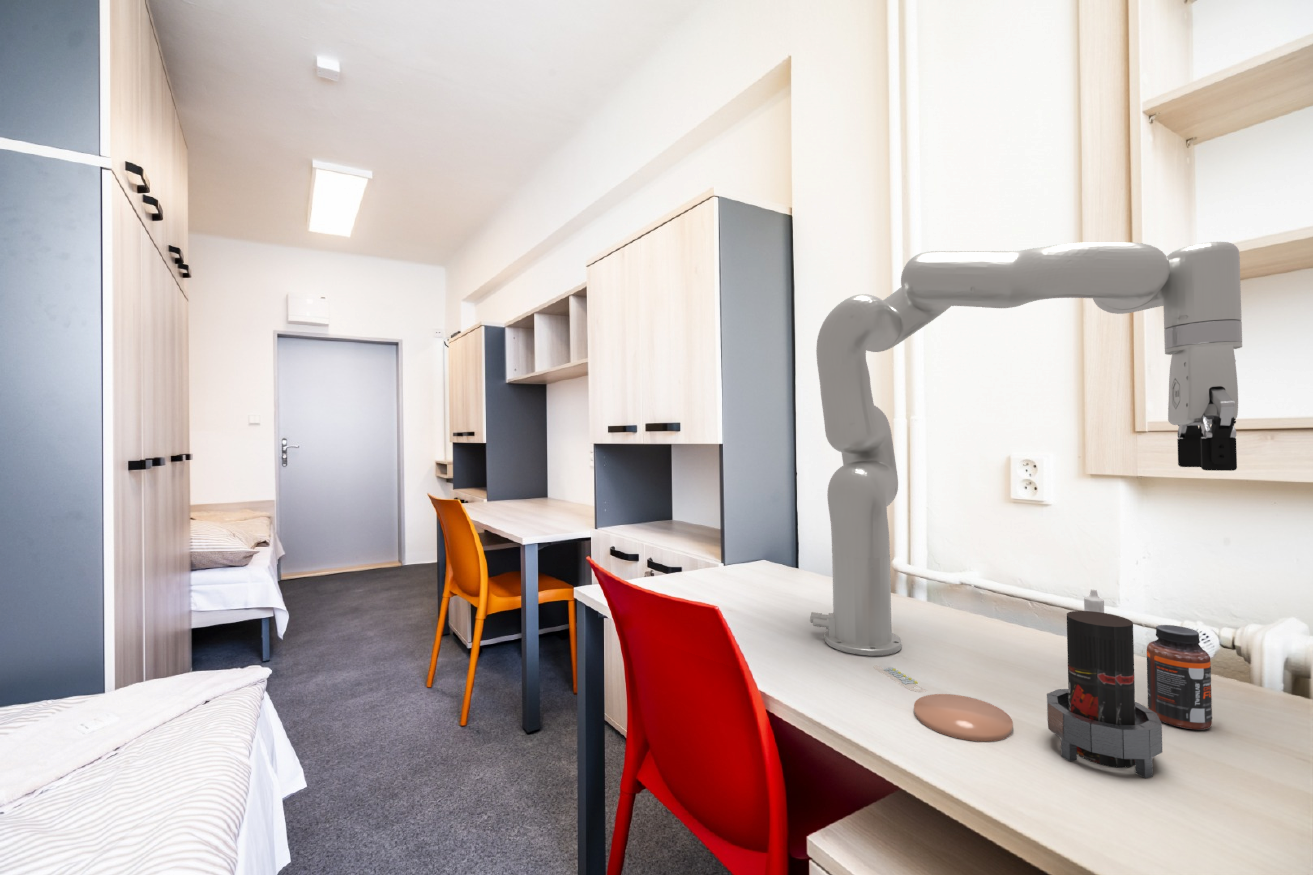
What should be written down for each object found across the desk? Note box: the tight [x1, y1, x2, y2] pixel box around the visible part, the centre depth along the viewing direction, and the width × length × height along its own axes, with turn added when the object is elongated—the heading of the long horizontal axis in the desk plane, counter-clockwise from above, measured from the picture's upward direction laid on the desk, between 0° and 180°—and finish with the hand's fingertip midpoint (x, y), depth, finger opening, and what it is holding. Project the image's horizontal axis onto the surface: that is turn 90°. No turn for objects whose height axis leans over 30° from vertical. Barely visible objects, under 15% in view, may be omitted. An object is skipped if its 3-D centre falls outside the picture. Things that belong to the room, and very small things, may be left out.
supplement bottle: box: [1146, 624, 1213, 731], centre depth 72 cm, size 6×6×11 cm
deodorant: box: [1066, 610, 1136, 768], centre depth 65 cm, size 6×6×15 cm
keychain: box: [873, 664, 928, 693], centre depth 86 cm, size 10×1×3 cm
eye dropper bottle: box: [1083, 588, 1105, 613], centre depth 89 cm, size 4×6×12 cm
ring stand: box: [1046, 688, 1163, 779], centre depth 65 cm, size 10×10×5 cm
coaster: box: [913, 693, 1014, 743], centre depth 73 cm, size 11×11×1 cm
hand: (1205, 468), depth 77 cm, fingers open, 9 cm apart
